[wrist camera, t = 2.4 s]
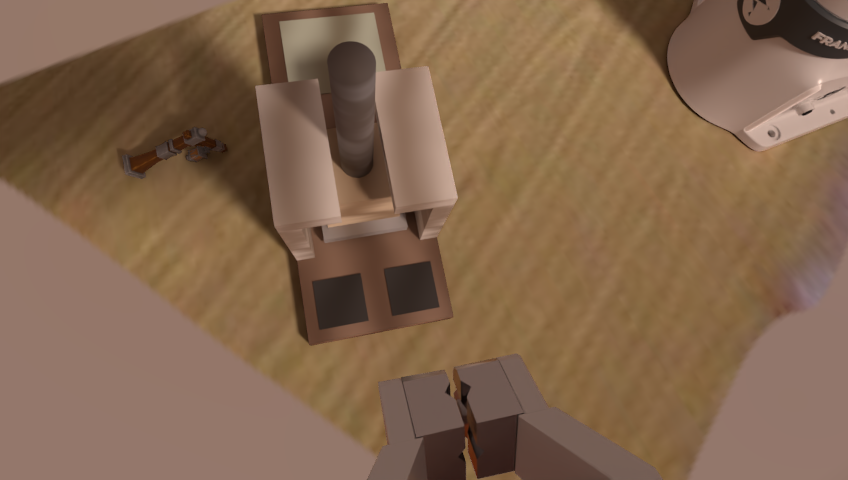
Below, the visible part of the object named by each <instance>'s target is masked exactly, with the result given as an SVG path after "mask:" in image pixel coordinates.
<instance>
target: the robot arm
mask: <svg viewBox="0 0 848 480" xmlns="http://www.w3.org/2000/svg"><path fill="white" fill-rule="evenodd" d="M667 62H668V69H669V73H670V76H671V79H672V81H673V83H674V86H675V87H676V89H677V91H678V93H679V94H680V96H681V97H682V98H683V100H684V101H685V102H686V103H687V104H688V105H689V106H690V107H691V108H692V109H693V110H694V111H695V112H696V113H697V114H699V115H700V116H701V117H703V118H704V119H706V120H707V121H709V122H711V123H713V124H715V125H717V126H719V127H722V128H724V129H726V130H728V131H730V132H732V133H734V134H735V135H736V136H737V137H738V138H739V139H740V140H741V141H742V142H744V143H745V144H746V145H747V146H748V147H750V148H751V149H753V150H755V151H764V150H767V149H769V148H772V147H775V146H777V145H780V144H782V143H785V142H787V141H790V140H792V139H795V138H797V137H800V136H802V135H805V134H808V133H810V132H813V131H815V130H818V129H820V128H823V127H825V126H828V125H830V124H833V123H836V122H838V121H841V120H843V119H846V118H848V0H694V2H693V5H692V8H691V12H690V14H689V16H688V17H687V18H686V19H685V20H684V21H683V22H682V23H681V24H680V25H679V26H678V27H677V28H676V30H675V31H674V33H673V35H672V37H671V39H670V42H669V45H668V52H667ZM453 380H454V383H455V386H456V389H457V390H456V391H455V392H454V398H452V397H451V396H450V382H449V379H448V377H447V374H446V372H445V370H440V371H434V372H429V373H423V374H418V375H412V376H407V377H401V379H400V378H398V379H392V380H387V381H382V382H378V386H379V393H380V399H381V406H382V412H383V419H384V425H385V432H386V438H387V444H388V445H386V446H382V449H381V451H380V453H379V455H378V457H377V459H376V461H375V464H374V466H373V468H372V470H371V472H370V474H369V476H368V479H367V480H466V461H465V458H464V455H463V450H464V449H465V437H466V438H467V439H468V453H469V456H470V459H471V462H472V465H473V468H474V471H475V474H476V476H477V479H479V478H484V477H489V476H493V475H498V474H502V473H507V472H512V471H515V473H516V474H517V475H518V476H519V477H520V478H521V479H522V480H663V479H662V477H661V476H660V475H659V473H658V472H657V470H656V469H655V468H654V467H653V466H651V465H650V464H648V463H646V462H645V461H643V460H641V459H640V458H638V457H636V456H635V455H633V454H632V453H630V452H628V451H627V450H625V449H623V448H622V447H620V446H619V445H617V444H615V443H614V442H612V441H610V440H609V439H607V438H605V437H604V436H602V435H601V434H599V433H597V432H596V431H594V430H592V429H591V428H589V427H588V426H586V425H584V424H583V423H581V422H579V421H578V420H576V419H574V418H573V417H571V416H570V415H568V414H566V413H565V412H563V411H561V410H560V409H558V408H556V407H552V408H549V407H548V405H547V403H546V402H545V400H544V398H543V396H542V394H541V393H540V391H539V389H538V387H537V385H536V383H535V382H534V380H533V378H532V376H531V374H530V373H529V371H528V369H527V367H526V365H525V363H524V362H523V360H522V358H521V356H520V355H518V354H512V355H507V356H503V357H498V358H496V359H495V358H493V359H488V360H484V361H479V362H475V363H470V364H466V365H461V366H456V367H454V369H453Z"/></svg>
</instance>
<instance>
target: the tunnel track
mask: <svg viewBox="0 0 848 480" xmlns="http://www.w3.org/2000/svg"><path fill="white" fill-rule="evenodd" d="M262 20H263V27H264V34H265V41H266V48H267V55H268V62H269V69H270V76H271V83H272V84H267V85H258V86H255V88H256V95H257V103H258V110H259V117H260V125H261V132H262V140H263V147H264V154H265V162H266V169H267V177H268V184H269V191H270V199H271V206H272V214H273V221H274V227H275V228H276V230H277V231H278V233H279V234H280V236H281V237H282V239H283V240H284V242H285V243H286V245H287V246H288V248H289V249H290V251H291V252H292V254H293V255H294V257H295V258H296V260H297V264H298V271H299V278H300V285H301V292H302V299H303V306H304V313H305V319H306V326H307V333H308V340H309V345H317V344H322V343H327V342H332V341H337V340H342V339H347V338H353V337H358V336H363V335H368V334H373V333H378V332H383V331H389V330H394V329H399V328H404V327H409V326H414V325H420V324H425V323H430V322H435V321H440V320H445V319H450V318H452V317H453V312H452V307H451V303H450V298H449V293H448V288H447V284H446V279H445V274H444V269H443V265H442V260H441V255H440V250H439V246H438V241H437V236H438V234H439V232H440V230H441V228H442V226H443V225H444V223H445V221H446V219H447V217H448V215H449V213H450V211H451V210H452V208H453V206H454V204H455V202H456V200H457V198H458V196H457V192H456V187H455V183H454V179H453V174H452V170H451V165H450V161H449V156H448V152H447V147H446V143H445V138H444V134H443V130H442V125H441V121H440V116H439V112H438V107H437V103H436V98H435V94H434V89H433V85H432V81H431V76H430V72H429V67H428V66H425V67H416V68H408V69H401V65H400V60H399V56H398V51H397V46H396V41H395V37H394V32H393V27H392V22H391V18H390V13H389V8H388V3H382V4H371V5H360V6H350V7H339V8H328V9H317V10H306V11H296V12H285V13H274V14H263V15H262ZM347 41H355V42H359V43H362V44H364V45H366V46H367V47H368V48H369V49H370V50H371V51H372V52H373V54H374V56H375V59H376V83H375V119H374V123H377V125H378V130H379V135H380V141H381V146H382V151H383V156H384V161H385V166H386V172H387V177H388V182H389V187H390V192H391V198H392V203H393V208H394V213H395V214H399V213H405V215H406V220H407V226H408V227H407V230H402V231H396V232H390V233H384V234H378V235H371V236H365V237H359V238H353V239H347V240H341V241H335V242H329V243H325V242H324V237H323V231H322V226H323V225H330V224H336V223H342V219H341V213H340V207H339V201H338V195H337V189H336V183H335V178H334V172H333V166H332V160H331V154H330V148H329V142H328V136H327V130H326V129H331V128H336V125H335V117H334V110H333V102H332V95H331V87H330V80H329V72H328V65H327V59H328V55H329V53H330V51H331V50H332V49H333V48H334V47H335V46H336V45H338V44H340V43H342V42H347Z"/></svg>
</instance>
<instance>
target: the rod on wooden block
mask: <svg viewBox="0 0 848 480" xmlns="http://www.w3.org/2000/svg"><path fill="white" fill-rule="evenodd" d="M327 65H328V72H329V80H330V87H331V95H332V102H333V110H334V117H335V125H336V128H331V129H326V130H327V136H328V142H329V148H330V154H331V160H332V166H333V172H334V178H335V183H336V189H337V195H338V201H339V207H340V213H341V219H342V223H336V224H330V225H323V226H322V231H323V237H324V242H325V243H329V242H335V241H341V240H347V239H353V238H359V237H365V236H371V235H378V234H384V233H390V232H396V231H402V230H407V227H408V226H407V220H406V215H405V213H399V214H395V213H394V208H393V203H392V198H391V192H390V187H389V182H388V177H387V172H386V166H385V161H384V156H383V151H382V146H381V141H380V135H379V130H378V125H377V123H374V119H375V83H376V59H375V56H374V54H373V52H372V51H371V50H370V49H369V48H368V47H367V46H366V45H364V44H362V43H359V42H355V41H347V42H342V43H340V44H338V45H336V46H335V47H334V48H333V49H332V50H331V51H330V53H329V55H328V59H327Z"/></svg>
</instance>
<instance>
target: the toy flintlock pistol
mask: <svg viewBox="0 0 848 480" xmlns="http://www.w3.org/2000/svg"><path fill="white" fill-rule="evenodd" d="M206 135H207V130H206V129H205V128H196V127H193V128H192V129H190V130H186V131H184V132H183V136H181V137H179V138H176V139H174V140H173V139H170V140H168V142H166V141H165V142H164V143H163V144H161V145H159V146H156V149H155V150H152V151H150V152H147V153H144V154H141V155H138V156H135V157H133V156H130V155H127V154H126V155H122V158H123V164H124V169H125V174H126V175H129V176H133V177H136V178H140V179H143V178H145V177H146V175H145V171H146V170H148V169H149V168H150V167H152V166H153V165H155V164H156V163H157V162H159V161H161V160H163V159H165V160H167V159H168V158H170V157H172V156H174V155H177V154H176V153H178V154H180V153H181V152H182V151H181V150H182V149H184V148H186V147H188V146H196V147H197V148H195V149H192V150H188V155H187V156H186V159H187V160H188V161H195V162H197V161H199V160H200V159H202V158H206V159H208V158H207V153H210V150H214V151H219V152H222V153H223V152H225V151H227V147H226V144H223V143H221V141H219V140H216V139H214V140H213V139H210V138H208V137H205V136H206ZM201 146H204V147H201Z"/></svg>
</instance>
